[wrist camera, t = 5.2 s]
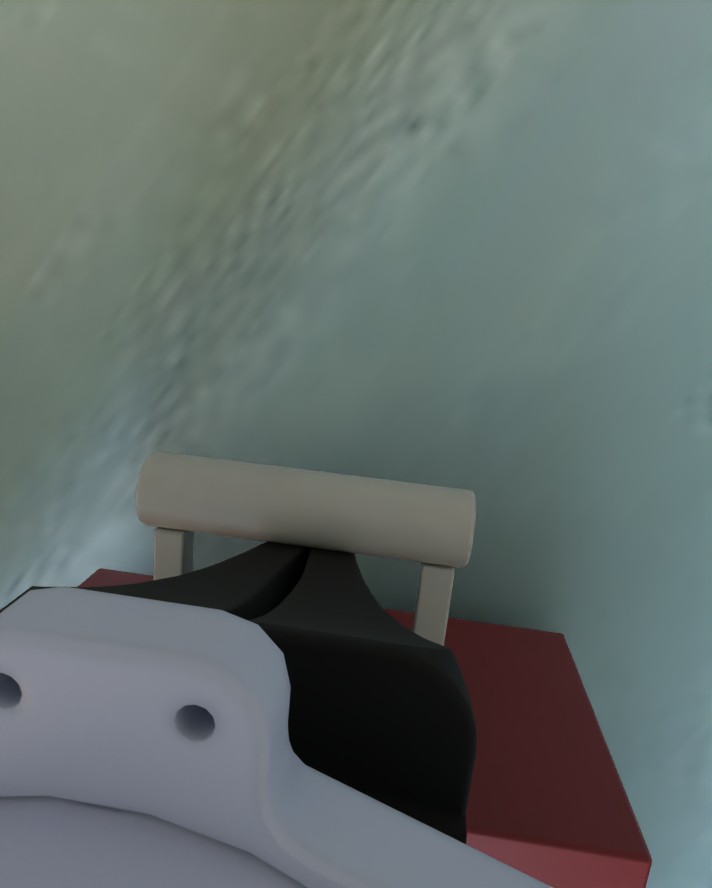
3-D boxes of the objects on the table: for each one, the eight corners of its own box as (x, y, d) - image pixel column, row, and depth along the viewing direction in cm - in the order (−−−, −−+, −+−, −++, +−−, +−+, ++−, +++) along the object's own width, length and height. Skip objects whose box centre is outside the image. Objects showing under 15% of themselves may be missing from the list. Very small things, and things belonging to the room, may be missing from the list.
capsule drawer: (99, 395, 16) (-124, 466, 10) (598, 454, 15) (727, 579, 9) (98, 953, 21) (-55, 1262, 14) (487, 1028, 20) (517, 1400, 13)
